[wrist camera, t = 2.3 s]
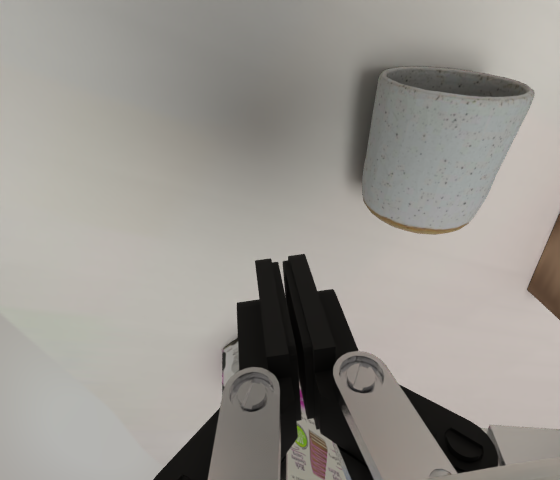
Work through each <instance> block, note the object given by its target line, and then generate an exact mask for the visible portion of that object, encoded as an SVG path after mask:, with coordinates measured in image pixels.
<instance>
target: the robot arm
mask: <svg viewBox="0 0 560 480" xmlns="http://www.w3.org/2000/svg"><path fill="white" fill-rule="evenodd" d="M255 265H256V273H257V281H258V290H259V298H260V300H253V301H246V302H239V303H237V324H238V352H239V371H238V372H237V373H235V374H234V375H233V376H232V377H230V379H229V380H228V382H227V383H226V385H225V388H224V390H223V395H222V401H221V406H220V408H219V409H218V410H217V412H216V413H215V414H214V415H213V416H212V417H211V418H210V419H209V420H208V421H207V422H206V423H205V424H204V425H203V426H202V428H201V429H200V430H199V431H198V432H197V433H196V434H195V435H194V436H193V437H192V438H191V439H190V440H189V441H188V443H187V444H186V445H185V446H184V447H183V448H182V449H181V450H180V451H179V452H178V453H177V454H176V455H175V456H174V457H173V459H172V460H171V461H170V462H169V463H168V464H167V465H166V466H165V467H164V468H163V469H162V470H161V471H160V472H159V473H158V475H157V476H156V477H155V478H154V480H288V455H287V452H288V451H289V449H290V448H291V446H292V445H293V444H294V442H295V441H296V439H297V438H298V432H297V421H300V420H302V417H301V402H300V388H299V382H300V387H301V392H302V397H303V402H304V407H305V412H306V416H307V419H312V418H314V422H315V426H316V430H318V429H320V433H321V434H322V435H324V436H325V437H326V438H328V439H329V440H331V441H332V443H333V447H334V450H335V453H336V455H337V458H338V460H339V463H340V465H341V468H342V470H343V473H344V475H345V477H346V480H560V429H546V428H531V427H516V426H501V425H490V426H489V428H488V429H487V428H480V427H478V426H477V425H475V424H474V423H472V422H471V421H469V420H467V419H465V418H463V417H461V416H459V415H457V414H455V413H453V412H451V411H449V410H447V409H445V408H444V407H442V406H440V405H438V404H436V403H434V402H432V401H430V400H428V399H426V398H424V397H422V396H420V395H418V394H416V393H414V392H413V391H411V390H409V389H407V388H405V387H403V386H401V385H399V384H398V383H397V381H396V379H395V378H394V376H393V375H392V373H391V372H390V370H389V369H388V367H387V366H386V365H385V364H384V362H383V361H382V360H381V359H379V358H378V357H376V356H375V355H373V354H370V353H367V352H361V351H358V348H357V346H356V343H355V341H354V338H353V336H352V333H351V331H350V328H349V326H348V323H347V321H346V318H345V316H344V313H343V311H342V308H341V306H340V303H339V301H338V298H337V296H336V294H335V292H334V290H333V289H331V290H324V291H317V289H316V286H315V283H314V280H313V277H312V274H311V271H310V268H309V265H308V262H307V259H306V256H305V254H301V255H294V256H288V261H283V273H284V285H285V293H284V288H283V283H282V279H281V274H280V269H279V265H278V262H274V263H272V261H271V259H264V260H256V261H255ZM285 297H286V298H285Z"/></svg>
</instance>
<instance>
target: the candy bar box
mask: <svg viewBox="0 0 560 480" xmlns="http://www.w3.org/2000/svg"><path fill="white" fill-rule="evenodd" d="M222 356H223V358H222V370H223V375H222V377H223V382H222V387H223V388H222V395H223V390H224V388H225V385H226V383H227V382H228V380H229V379H230V377H232V376H233V375H234V374H235V373H237V372H238V371H239V352H238V339H237V340H235V341H234V342H232V343H231V344H229V345H228V346H227V347H225V348H224V349H223V354H222ZM299 388H300V402H301V417H302V420H300V421H297V432H298V438H297V439H296V441H295V442H294V444H293V445H292V446H291V448H290V449H289V451H288V452H287V455H288V480H346V477H345V475H344V473H343V470H342V468H341V465H340V463H339V460H338V458H337V455H336V453H335V450H334V447H333V443H332V441H331V440H329V439H328V438H326V437H325V436H324V435H322V434H321V433H320V429H318V430H316V426H315V422H314V418H312V419H307V416H306V412H305V407H304V402H303V397H302V392H301V387H300V382H299Z"/></svg>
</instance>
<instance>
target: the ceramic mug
mask: <svg viewBox="0 0 560 480" xmlns="http://www.w3.org/2000/svg"><path fill="white" fill-rule="evenodd" d="M533 98H534V90H533V89H531V88H530V87H529V86H528V85H526V84H524V83H521V82H519V81H516V80H512V79H508V78H505V77H499V76H495V75H490V74H485V73H478V72H473V71H465V70H459V69H451V68H434V67H411V66H407V67H397V68H391V69H387V70H385V71H383V72H382V73H381V74H380V76H379V78H378V85H377V91H376V98H375V103H374V109H373V115H372V121H371V127H370V134H369V141H368V148H367V154H366V159H365V164H364V170H363V178H362V195H363V200H364V203H365V204H366V206H367V208H368V209H369V210H370V211H371V212H372V213H373V214H374V215H375V216H376V217H378V218H379V219H380V220H382V221H384V222H385V223H387V224H389V225H391V226H394V227H396V228H399V229H402V230H406V231H410V232H414V233H420V234H443V233H448V232H453V231H456V230H459V229H461V228H462V227H464V226H465V225H467V224H468V223H469V222H470V221H471V220H472V218H473V217H474V216H475V214H476V213H477V211H478V210H479V208H480V207H481V205H482V204H483V202H484V200H485V199H486V197H487V195H488V193H489V191H490V188H491V186H492V184H493V181H494V179H495V176H496V174H497V172H498V170H499V168H500V166H501V164H502V162H503V160H504V158H505V156H506V154H507V152H508V150H509V148H510V146H511V144H512V142H513V140H514V138H515V136H516V134H517V132H518V130H519V128H520V126H521V124H522V122H523V120H524V118H525V116H526V114H527V112H528V110H529V108H530V105H531V103H532V100H533Z"/></svg>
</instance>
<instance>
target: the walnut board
mask: <svg viewBox="0 0 560 480" xmlns="http://www.w3.org/2000/svg"><path fill="white" fill-rule="evenodd" d="M527 290H528V291H529V292H530V293H531V294H532V295H533V296H534V297H536V298H537V299H538V300H539V301H540V302H541V303H542V304H543V305H544V306H545V307H546V308H547V309H548V310H550V311H551V312H552V313H553V314H554V315H555V316H556V317H557V318H558V319H559V320H560V214H559V216H558V219H557V221H556V223H555V226H554V228H553V230H552V233H551V235H550V237H549V240H548V242H547V244H546V247H545V249H544V251H543V254H542V256H541V258H540V261H539V263H538V265H537V268H536V270H535V273H534V275H533V277H532V280H531V282H530V284H529V287H528V289H527Z"/></svg>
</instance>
